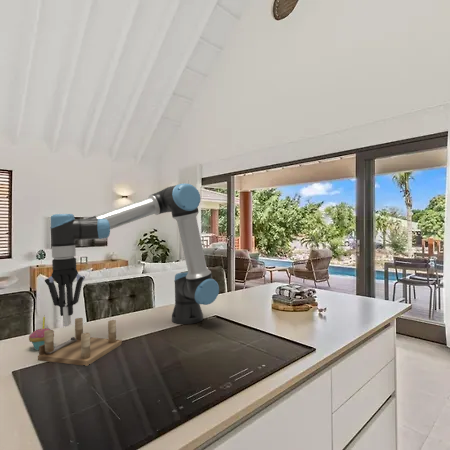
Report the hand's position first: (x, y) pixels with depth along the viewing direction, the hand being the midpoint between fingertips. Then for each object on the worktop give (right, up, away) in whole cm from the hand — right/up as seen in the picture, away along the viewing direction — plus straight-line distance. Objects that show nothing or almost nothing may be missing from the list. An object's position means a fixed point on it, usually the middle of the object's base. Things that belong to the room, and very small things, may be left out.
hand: (67, 324), depth 114 cm
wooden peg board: (+3, -11, +5) cm, 13 cm away
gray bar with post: (-5, -10, +5) cm, 12 cm away
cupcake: (-14, -12, +9) cm, 21 cm away
